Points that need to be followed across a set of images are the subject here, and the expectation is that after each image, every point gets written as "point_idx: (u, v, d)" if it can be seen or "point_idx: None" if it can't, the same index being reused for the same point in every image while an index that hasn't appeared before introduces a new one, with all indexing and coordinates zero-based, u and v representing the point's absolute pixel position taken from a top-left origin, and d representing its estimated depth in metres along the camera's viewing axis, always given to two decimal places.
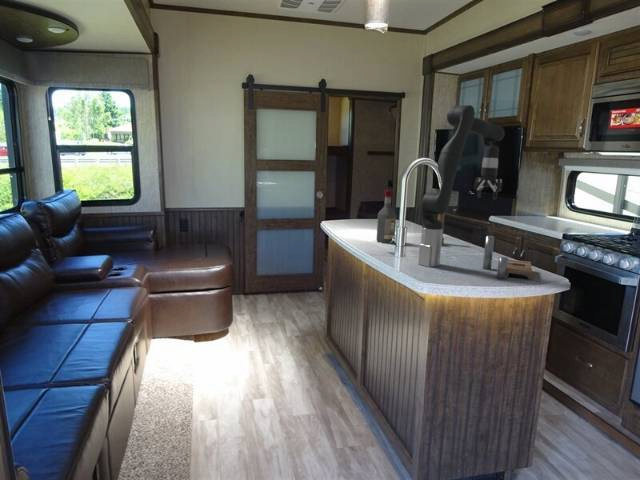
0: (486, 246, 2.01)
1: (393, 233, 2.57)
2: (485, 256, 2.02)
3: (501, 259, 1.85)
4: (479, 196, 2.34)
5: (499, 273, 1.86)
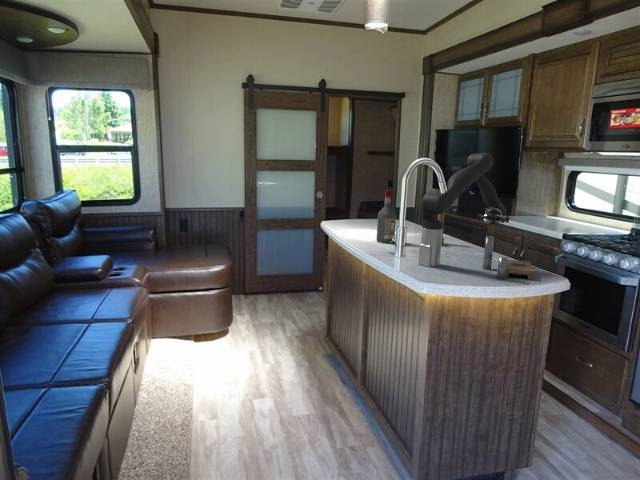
0: (486, 246, 2.01)
1: (393, 233, 2.57)
2: (485, 256, 2.02)
3: (501, 259, 1.85)
4: (483, 218, 2.12)
5: (499, 273, 1.86)
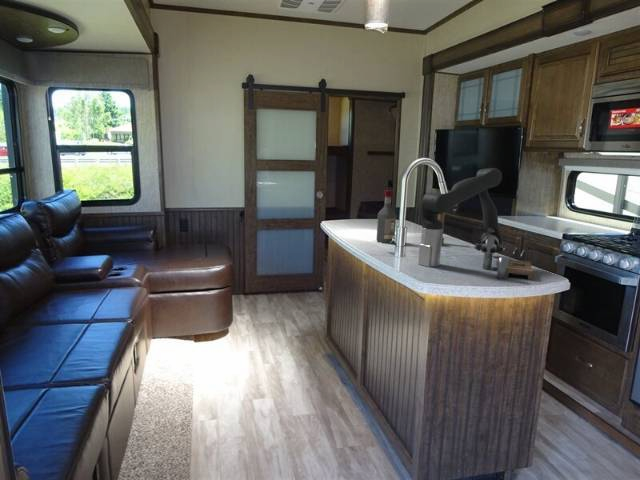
0: (486, 246, 2.01)
1: (393, 233, 2.57)
2: (485, 256, 2.02)
3: (501, 259, 1.85)
4: (484, 249, 2.01)
5: (499, 273, 1.86)
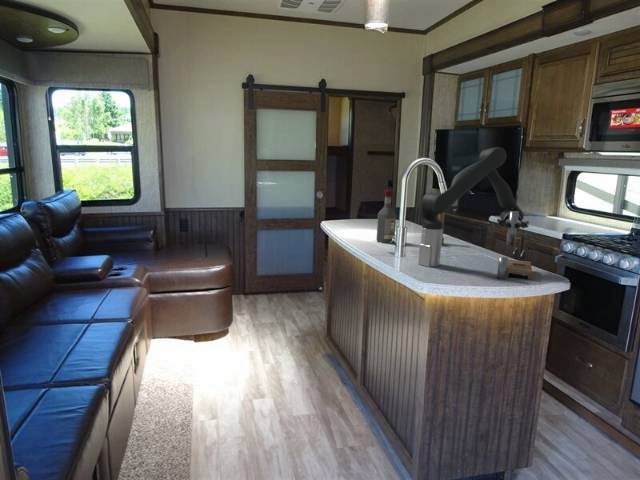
0: (510, 221, 1.95)
1: (393, 233, 2.57)
2: (509, 232, 1.95)
3: (501, 259, 1.85)
4: (508, 224, 1.94)
5: (499, 273, 1.86)
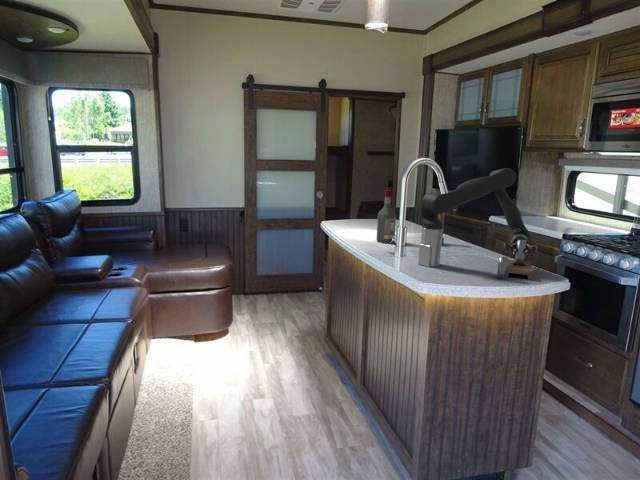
0: (518, 250, 1.94)
1: (393, 233, 2.57)
2: (516, 260, 1.95)
3: (501, 259, 1.85)
4: (513, 248, 1.94)
5: (499, 273, 1.86)
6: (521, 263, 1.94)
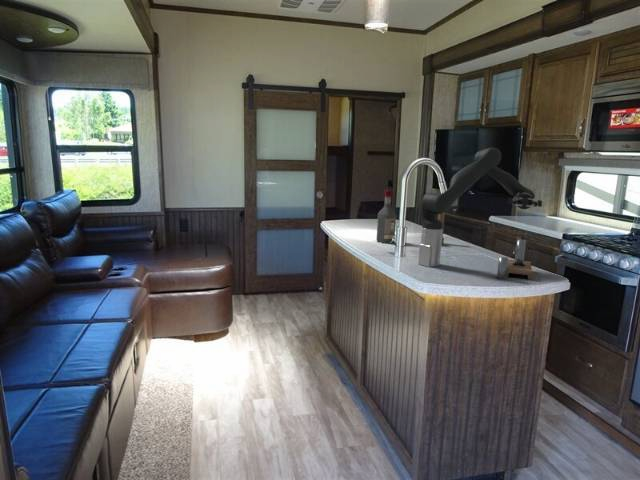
0: (517, 250, 1.94)
1: (393, 233, 2.57)
2: (516, 260, 1.95)
3: (501, 259, 1.85)
4: (515, 202, 2.03)
5: (499, 273, 1.86)
6: (521, 263, 1.94)
